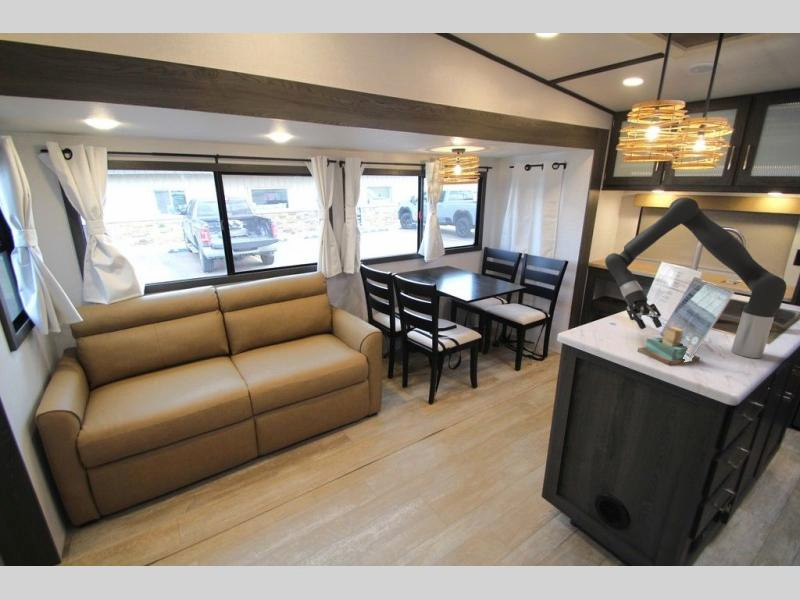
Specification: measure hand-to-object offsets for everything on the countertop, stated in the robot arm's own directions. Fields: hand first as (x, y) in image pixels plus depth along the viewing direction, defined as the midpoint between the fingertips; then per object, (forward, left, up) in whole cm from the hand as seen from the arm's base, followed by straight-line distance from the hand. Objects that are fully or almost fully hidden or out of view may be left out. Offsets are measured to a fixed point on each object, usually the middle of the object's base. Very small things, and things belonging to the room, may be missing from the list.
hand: (651, 327), depth 152 cm
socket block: (0, +9, -9) cm, 13 cm away
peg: (0, +9, -7) cm, 11 cm away
